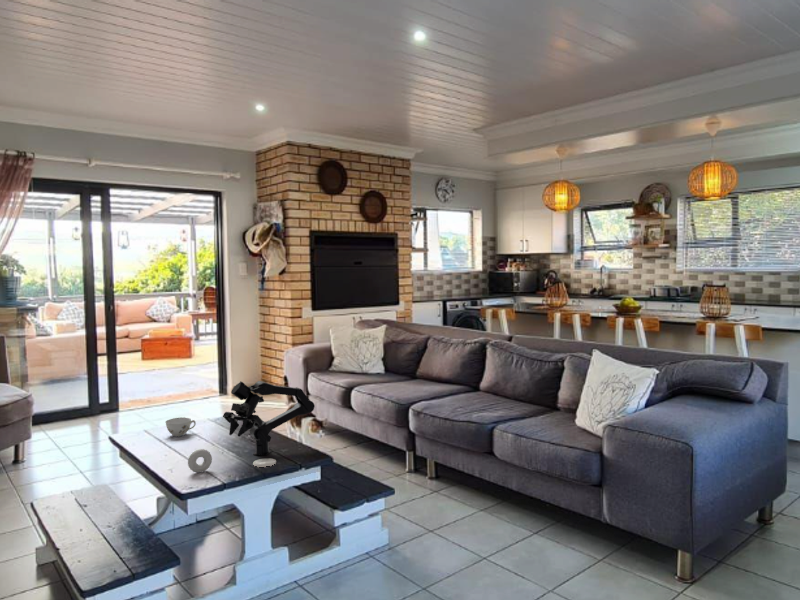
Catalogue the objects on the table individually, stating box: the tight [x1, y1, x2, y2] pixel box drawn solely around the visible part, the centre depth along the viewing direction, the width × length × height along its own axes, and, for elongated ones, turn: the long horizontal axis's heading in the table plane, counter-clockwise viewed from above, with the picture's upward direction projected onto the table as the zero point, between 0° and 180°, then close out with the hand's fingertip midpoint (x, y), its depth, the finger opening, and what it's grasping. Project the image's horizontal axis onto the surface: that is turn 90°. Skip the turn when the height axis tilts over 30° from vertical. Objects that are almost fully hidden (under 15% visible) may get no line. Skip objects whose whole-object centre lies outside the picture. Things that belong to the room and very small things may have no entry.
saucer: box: [252, 457, 277, 468], centre depth 257 cm, size 10×10×1 cm
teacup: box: [165, 416, 197, 437], centre depth 306 cm, size 15×12×8 cm
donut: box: [187, 448, 213, 473], centre depth 247 cm, size 10×4×10 cm, turn 125°
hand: (234, 435), depth 257 cm, fingers open, 4 cm apart
